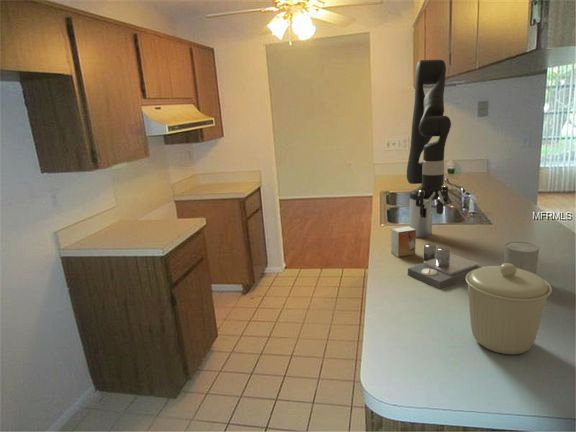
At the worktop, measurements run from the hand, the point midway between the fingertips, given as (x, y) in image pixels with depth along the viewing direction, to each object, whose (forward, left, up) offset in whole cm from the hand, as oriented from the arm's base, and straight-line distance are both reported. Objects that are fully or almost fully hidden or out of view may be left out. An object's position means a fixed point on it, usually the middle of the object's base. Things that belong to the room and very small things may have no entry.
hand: (431, 215), depth 148 cm
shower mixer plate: (+3, +12, -15) cm, 20 cm away
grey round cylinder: (-8, +30, -18) cm, 36 cm away
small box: (+3, -11, -18) cm, 21 cm away
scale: (+6, +12, -18) cm, 22 cm away
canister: (+28, +48, -18) cm, 58 cm away
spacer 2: (+7, +12, -14) cm, 20 cm away
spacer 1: (0, 0, -18) cm, 18 cm away
